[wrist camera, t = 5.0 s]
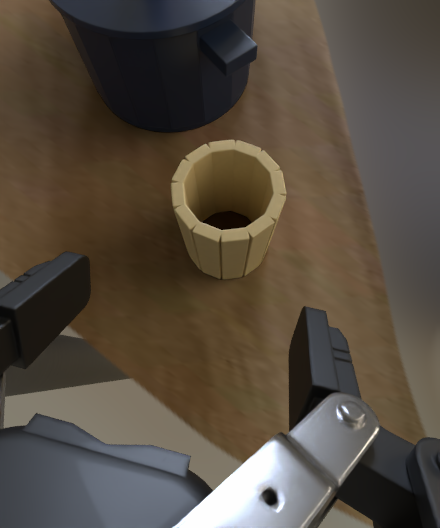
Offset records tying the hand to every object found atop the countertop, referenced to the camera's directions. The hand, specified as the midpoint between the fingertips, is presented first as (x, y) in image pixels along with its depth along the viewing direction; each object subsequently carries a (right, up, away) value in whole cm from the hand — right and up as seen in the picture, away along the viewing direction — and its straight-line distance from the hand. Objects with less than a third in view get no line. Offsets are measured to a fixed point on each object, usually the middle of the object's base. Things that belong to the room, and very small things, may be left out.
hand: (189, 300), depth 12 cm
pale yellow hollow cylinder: (+2, +3, +12) cm, 13 cm away
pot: (-3, +19, +17) cm, 26 cm away
